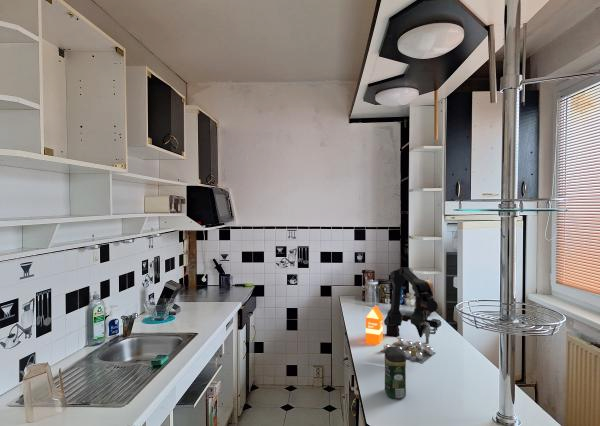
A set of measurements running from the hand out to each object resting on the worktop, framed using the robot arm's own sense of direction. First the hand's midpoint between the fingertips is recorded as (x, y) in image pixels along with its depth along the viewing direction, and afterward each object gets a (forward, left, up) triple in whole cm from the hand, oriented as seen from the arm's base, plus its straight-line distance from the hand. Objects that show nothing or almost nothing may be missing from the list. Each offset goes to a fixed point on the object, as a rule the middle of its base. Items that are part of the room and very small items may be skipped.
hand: (420, 337), depth 193 cm
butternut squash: (-27, +71, -10) cm, 77 cm away
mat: (-7, 0, -10) cm, 12 cm away
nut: (-4, 0, -10) cm, 10 cm away
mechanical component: (-4, +19, -10) cm, 22 cm away
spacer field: (-7, 0, -10) cm, 12 cm away
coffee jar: (+8, -43, -10) cm, 45 cm away
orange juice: (-28, +3, -10) cm, 30 cm away
